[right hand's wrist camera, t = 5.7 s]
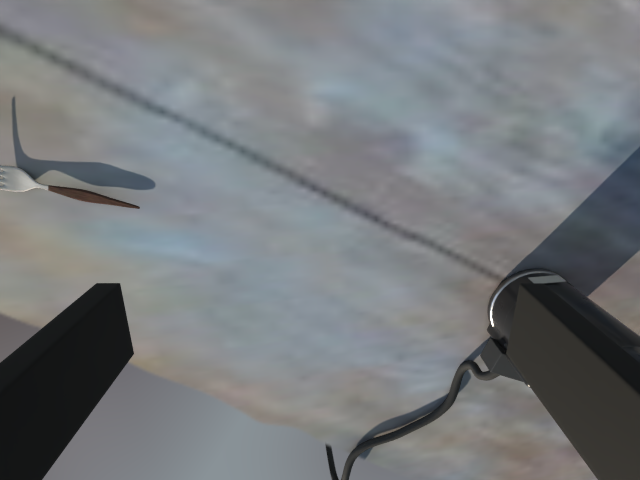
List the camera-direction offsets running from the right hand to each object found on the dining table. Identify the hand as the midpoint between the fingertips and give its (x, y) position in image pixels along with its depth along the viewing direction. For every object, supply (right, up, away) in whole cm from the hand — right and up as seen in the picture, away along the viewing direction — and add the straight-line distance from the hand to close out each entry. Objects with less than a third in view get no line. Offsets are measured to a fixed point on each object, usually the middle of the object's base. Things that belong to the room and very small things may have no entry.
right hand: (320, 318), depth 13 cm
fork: (-26, +8, +27) cm, 38 cm away
